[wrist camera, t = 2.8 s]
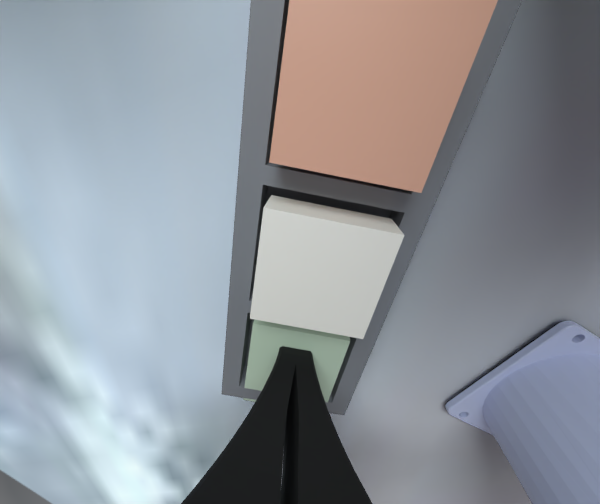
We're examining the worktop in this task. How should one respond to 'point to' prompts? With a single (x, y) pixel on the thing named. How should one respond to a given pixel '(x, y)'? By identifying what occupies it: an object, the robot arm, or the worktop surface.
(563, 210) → the worktop surface
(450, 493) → the worktop surface
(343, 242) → the cream key
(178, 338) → the worktop surface
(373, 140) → the terracotta key
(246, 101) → the key panel
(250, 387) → the sage key
